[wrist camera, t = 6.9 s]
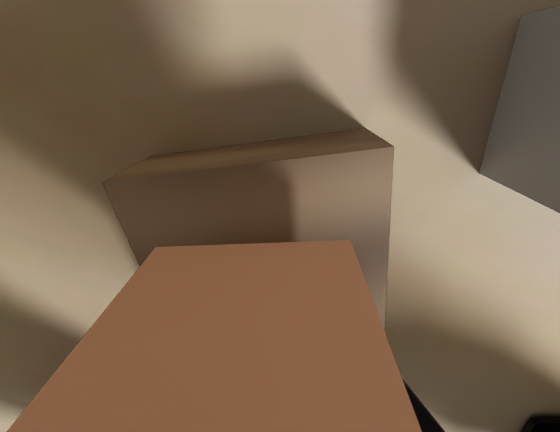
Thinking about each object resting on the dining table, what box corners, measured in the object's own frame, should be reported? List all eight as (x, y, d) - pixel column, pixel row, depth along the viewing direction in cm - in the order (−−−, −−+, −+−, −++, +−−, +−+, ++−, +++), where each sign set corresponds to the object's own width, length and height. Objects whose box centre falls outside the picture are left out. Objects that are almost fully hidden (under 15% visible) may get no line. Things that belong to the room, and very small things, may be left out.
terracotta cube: (342, 368, 11) (394, 654, 5) (195, 370, 11) (106, 638, 6) (350, 240, 8) (466, 551, 3) (155, 247, 8) (-77, 535, 3)
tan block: (363, 294, 17) (383, 353, 13) (205, 307, 18) (184, 365, 14) (363, 126, 12) (394, 146, 9) (153, 154, 13) (102, 182, 10)
